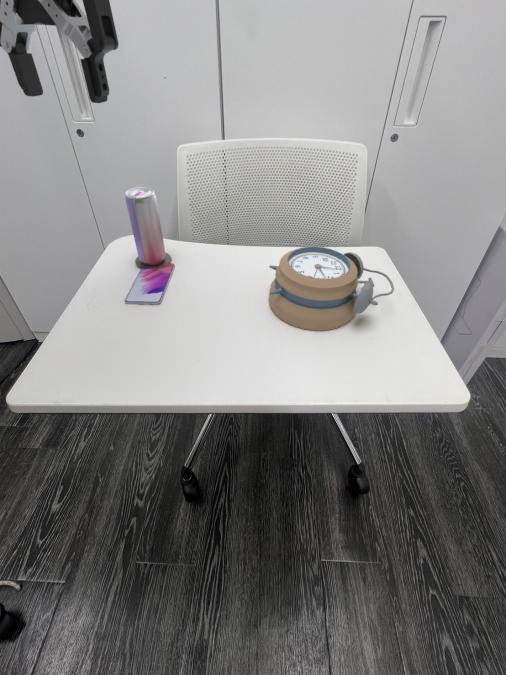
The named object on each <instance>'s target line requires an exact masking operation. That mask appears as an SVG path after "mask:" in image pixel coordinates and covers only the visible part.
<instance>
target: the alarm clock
mask: <svg viewBox="0 0 506 675" xmlns="http://www.w3.org/2000/svg"><path fill="white" fill-rule="evenodd" d="M269 268H270V269H272V270H273V271H275V274H274V276H275V278H274V279H273V280H272V282H271V284H270V287H269V294H268V303H269V307H270V309H271V310H272V312H273V313H274V315H275V316H276V317H278V318H279V319H280V320H281V321H283V322H285V323H286V324H288V325H291V326H293V327H296V328H299V329H303V330H306V331H307V330H308V331H331V330H334V329H337V328H340V327H342V326H344V325H346V324H348V323H349V321H351V320H352V319H353V317H354V315H360V314H362V313H364V312H365V311H366V310H367V309H368V307H369V306H370V305H373V306H378V305H379V302H378V301H377V300H375V299H377V298H380V297H383V296H384V297H385V296H390V295H392V294H393V293H394V291H395V286H394V283H393V281H392V279H391V278H390V277H389V275H388V274H386V273H385V272H381V271H379V270H373V269H368V268H365V267H364V262H363V260H362V259H361V256H359V255H358V254H357V253H355V252H352V251H349V252H345V253H341V252H339V251H338V250H335V249H332V248H328V247H323V246H305V247H299V248H296V249H293V250H290V251H288V252H286V253H285V254H283V255H282V257H280V259H279V264H278V265H271V264H270V265H269ZM364 271H365V272H368V273H374V274H378V275H380V276H383V277H384V278H386V280H387V281H388V283H389V285H390V287H391V290H390V291H389V292H385V293H379V294H375V295H374V287H375V283H374V280H373V279H372V277H368V280H360V279H361V278H362V276H363V274H364ZM359 284H363V285H362V286H361V289H360V290H359V292H358V291H357V288H358V285H359Z"/></svg>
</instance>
